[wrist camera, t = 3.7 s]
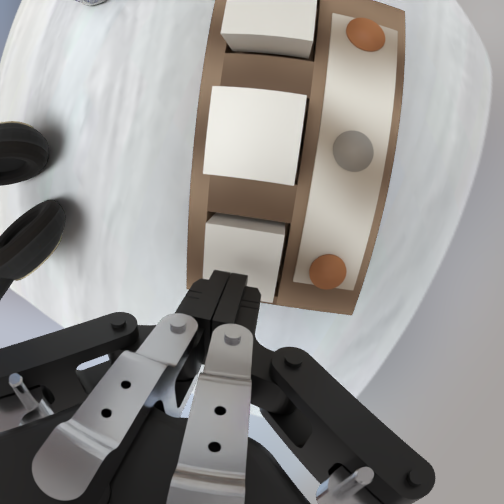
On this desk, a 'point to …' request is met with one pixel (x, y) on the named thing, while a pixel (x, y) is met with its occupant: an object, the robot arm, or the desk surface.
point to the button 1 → (245, 250)
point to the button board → (314, 150)
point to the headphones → (34, 220)
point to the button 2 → (270, 26)
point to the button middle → (254, 134)
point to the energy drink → (90, 2)
